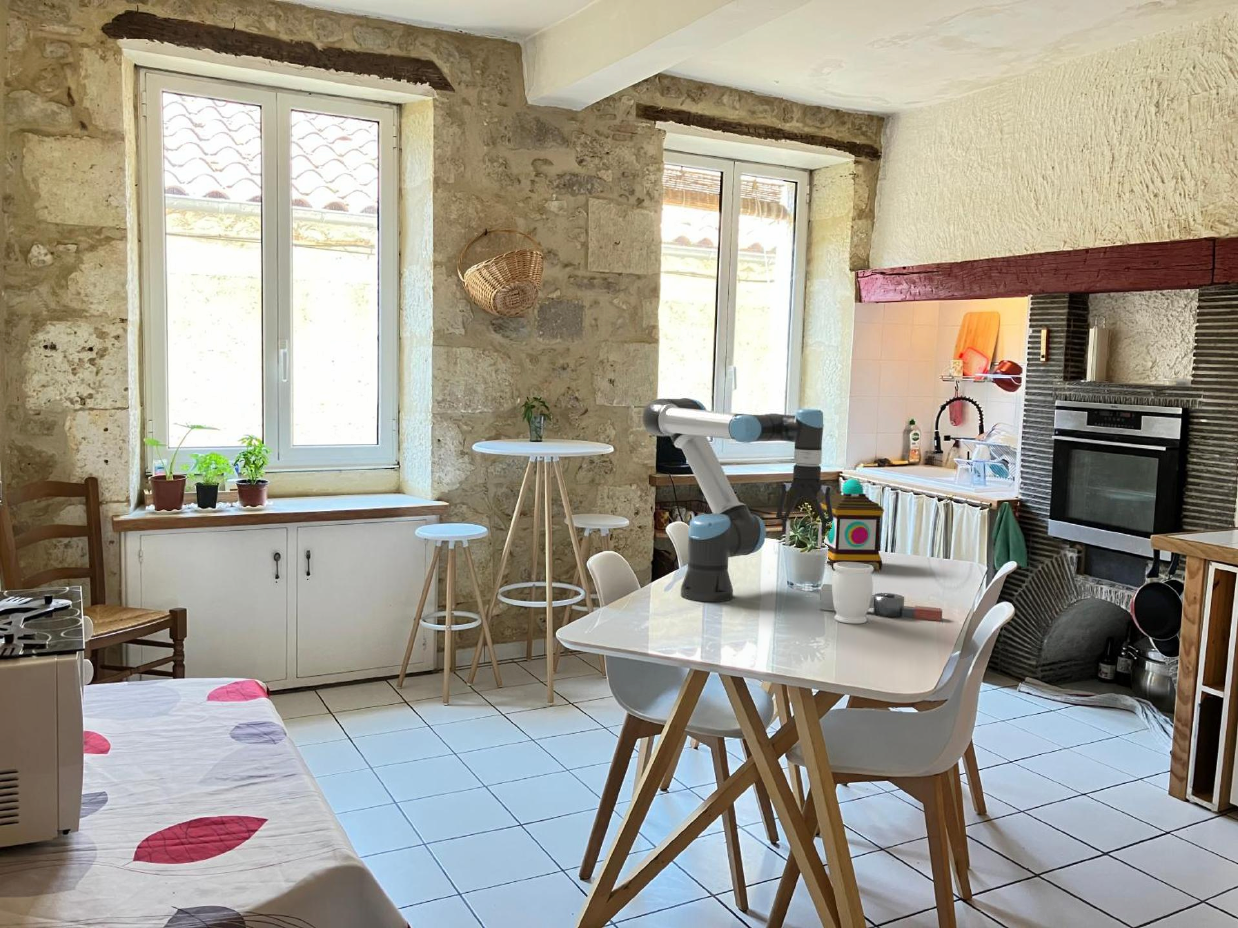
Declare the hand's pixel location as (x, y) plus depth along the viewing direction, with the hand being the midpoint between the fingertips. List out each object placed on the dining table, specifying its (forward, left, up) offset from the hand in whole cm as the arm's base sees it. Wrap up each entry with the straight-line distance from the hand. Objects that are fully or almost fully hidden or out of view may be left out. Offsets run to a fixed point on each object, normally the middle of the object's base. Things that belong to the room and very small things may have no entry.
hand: (803, 544), depth 277 cm
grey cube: (+9, 0, -17) cm, 19 cm away
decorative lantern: (+8, +66, -18) cm, 69 cm away
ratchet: (+27, 0, -17) cm, 32 cm away
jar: (+15, -11, -18) cm, 26 cm away
